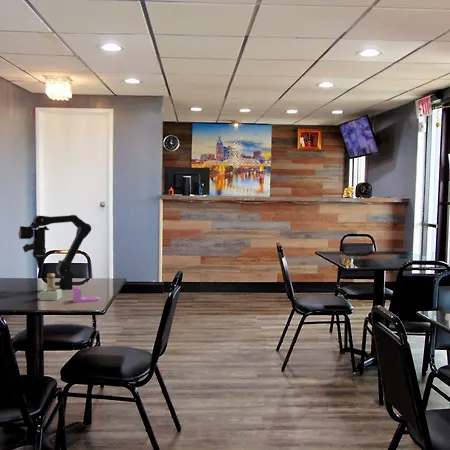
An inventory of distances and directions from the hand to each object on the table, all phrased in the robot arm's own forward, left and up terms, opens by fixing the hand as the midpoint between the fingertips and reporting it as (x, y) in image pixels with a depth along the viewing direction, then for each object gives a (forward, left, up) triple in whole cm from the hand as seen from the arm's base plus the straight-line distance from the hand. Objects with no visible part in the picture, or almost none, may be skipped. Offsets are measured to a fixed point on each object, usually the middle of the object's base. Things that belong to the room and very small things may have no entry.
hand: (39, 267), depth 275 cm
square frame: (-7, +24, -13) cm, 28 cm away
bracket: (-24, +34, -13) cm, 43 cm away
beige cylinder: (-7, +24, -13) cm, 28 cm away
